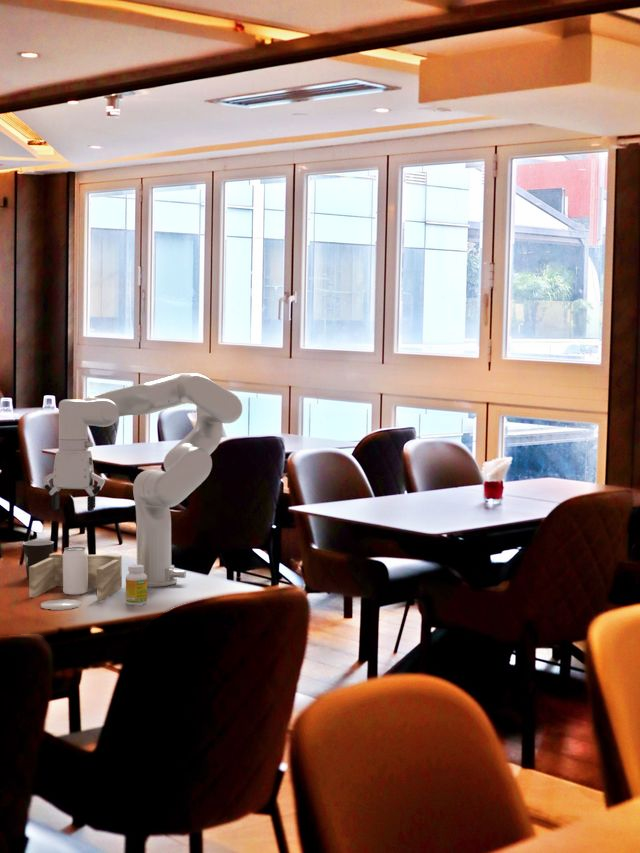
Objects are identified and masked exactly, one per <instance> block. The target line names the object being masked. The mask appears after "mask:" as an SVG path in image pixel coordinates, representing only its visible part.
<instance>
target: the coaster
mask: <svg viewBox="0 0 640 853" xmlns="http://www.w3.org/2000/svg"><path fill="white" fill-rule="evenodd" d="M79 606H80V607H81V606H82V602H81V601H80V600H77V599H72V598H71V599H68V598H64V599H63V598H61V599H60V598H59V599H52V600H46V601H43V602H41V603H40V608H41V609H43V608H44V609H43V610H48V609H51V610H50V611H65V610H64V609H67V610H73V609H72V608H74V609H77V608H79ZM76 607H77V608H76Z"/></svg>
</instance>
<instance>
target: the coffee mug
mask: <svg viewBox="0 0 640 853" xmlns="http://www.w3.org/2000/svg"><path fill="white" fill-rule="evenodd" d="M54 544H55V542H54V541H52V540H43V539H42V540H29V541H28V540H27V541H24V542H22V548H23V557H24V562H25V569H26V570H25V571H26V577H27V578H28V579H27V580H29V567H30V566H32V565H34V564H36V563H39V562H41V561H43V560H45V559H47V558H49V555H50V554H54V546H55V545H54Z"/></svg>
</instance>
